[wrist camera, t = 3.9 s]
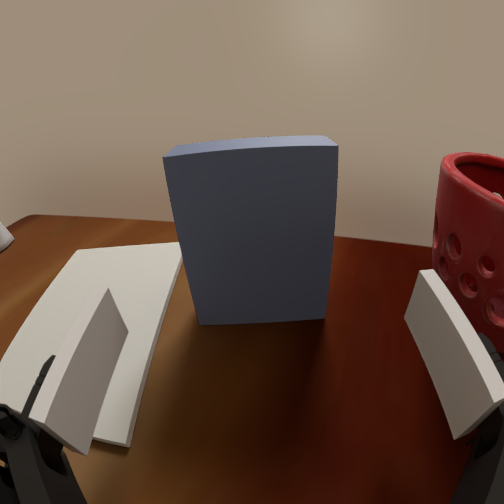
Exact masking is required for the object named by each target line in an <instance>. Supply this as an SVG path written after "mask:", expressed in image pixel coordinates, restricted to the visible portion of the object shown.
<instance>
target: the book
mask: <svg viewBox="0 0 504 504" xmlns="http://www.w3.org/2000/svg"><path fill="white" fill-rule="evenodd" d="M163 163H164V169H165V175H166V181H167V186H168V191H169V197H170V202H171V207H172V212H173V217H174V222H175V226H176V231H177V236H178V240H179V245H180V249H181V254H182V258H183V262H184V266H185V271H186V275H187V279H188V283H189V287H190V291H191V295H192V299H193V303H194V306H195V310H196V314H197V318H198V321H199V325H222V324H250V323H269V322H285V321H299V320H312V319H323V318H325V315H326V307H327V300H328V291H329V283H330V274H331V264H332V254H333V242H334V230H335V215H336V199H337V178H338V145H337V144H335V143H334V142H333V141H331V140H330V139H329V138H327V137H326V136H278V137H258V138H243V139H230V140H220V141H209V142H201V143H192V144H184V145H177V146H175V147H174V148H173V149H172V150H171V151H169V152H168V153H167V154H166V155H165V156H164V157H163Z"/></svg>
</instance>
